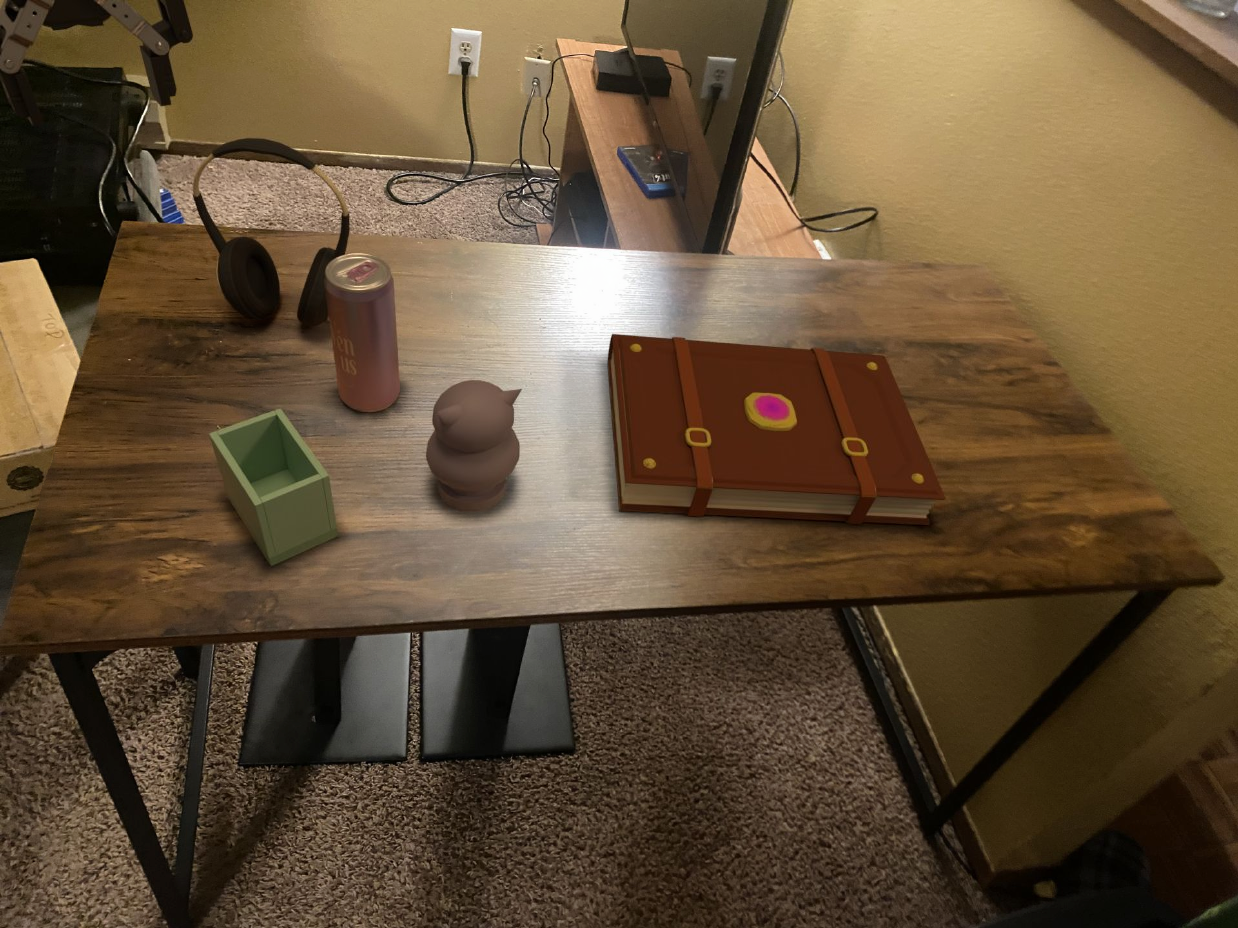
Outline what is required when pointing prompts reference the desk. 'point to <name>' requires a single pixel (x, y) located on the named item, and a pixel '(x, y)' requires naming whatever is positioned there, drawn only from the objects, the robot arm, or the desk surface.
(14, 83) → the robot arm
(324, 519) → the green open-top box
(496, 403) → the cat figurine
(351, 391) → the beverage can
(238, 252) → the headphones
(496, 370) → the desk surface
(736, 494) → the book
